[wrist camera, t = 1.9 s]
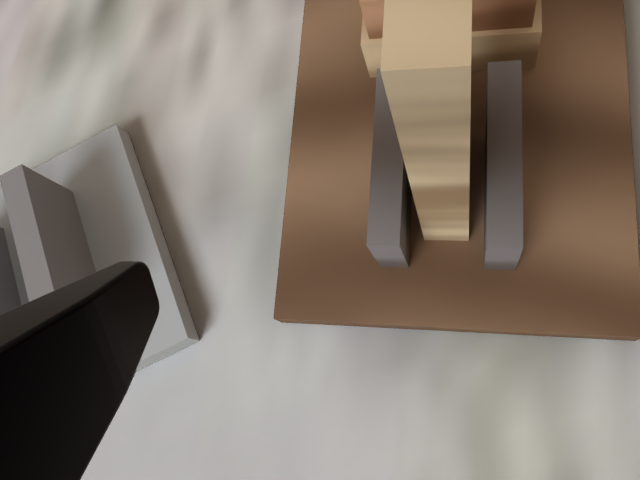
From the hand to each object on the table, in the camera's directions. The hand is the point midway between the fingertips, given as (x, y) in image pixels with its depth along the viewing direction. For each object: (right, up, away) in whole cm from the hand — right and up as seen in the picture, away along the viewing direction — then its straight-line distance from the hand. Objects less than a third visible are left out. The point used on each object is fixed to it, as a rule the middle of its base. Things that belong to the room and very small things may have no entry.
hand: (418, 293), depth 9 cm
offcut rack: (+3, +5, +13) cm, 15 cm away
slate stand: (-12, -1, +16) cm, 20 cm away
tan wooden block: (+3, +3, +12) cm, 12 cm away
